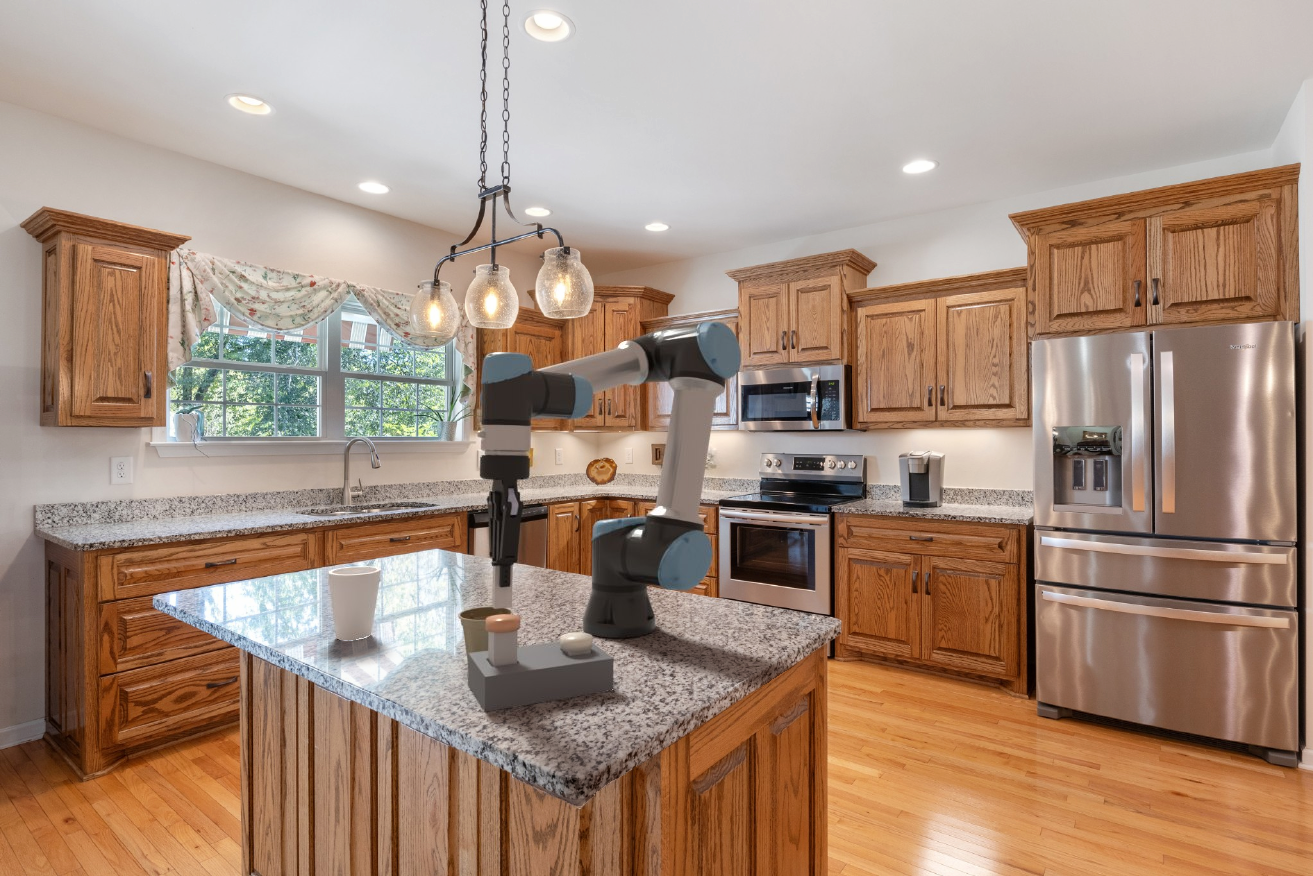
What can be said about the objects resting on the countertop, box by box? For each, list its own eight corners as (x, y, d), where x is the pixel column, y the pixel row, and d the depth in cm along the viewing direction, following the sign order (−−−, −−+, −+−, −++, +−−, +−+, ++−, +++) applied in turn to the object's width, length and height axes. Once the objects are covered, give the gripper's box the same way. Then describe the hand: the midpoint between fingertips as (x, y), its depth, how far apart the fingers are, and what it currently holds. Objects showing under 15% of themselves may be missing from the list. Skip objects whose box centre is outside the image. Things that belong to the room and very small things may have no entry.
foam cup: (338, 630, 137) (339, 566, 137) (385, 629, 138) (386, 566, 138) (319, 644, 128) (320, 575, 128) (369, 643, 128) (370, 575, 128)
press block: (585, 667, 116) (586, 638, 116) (613, 690, 106) (613, 658, 106) (467, 684, 107) (468, 653, 107) (484, 711, 97) (485, 676, 97)
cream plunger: (585, 672, 113) (585, 630, 113) (596, 682, 108) (597, 639, 108) (555, 676, 110) (556, 634, 110) (565, 687, 106) (566, 643, 106)
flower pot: (484, 674, 112) (485, 622, 112) (445, 664, 117) (446, 614, 117) (523, 659, 120) (524, 611, 120) (486, 650, 125) (486, 604, 125)
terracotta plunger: (514, 656, 107) (515, 612, 107) (523, 666, 103) (524, 620, 103) (481, 660, 105) (482, 616, 105) (489, 671, 100) (490, 624, 100)
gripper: (472, 452, 108) (468, 600, 108) (490, 454, 96) (487, 619, 96) (518, 453, 111) (514, 596, 111) (541, 454, 100) (538, 614, 99)
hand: (501, 606), depth 104 cm, fingers closed
